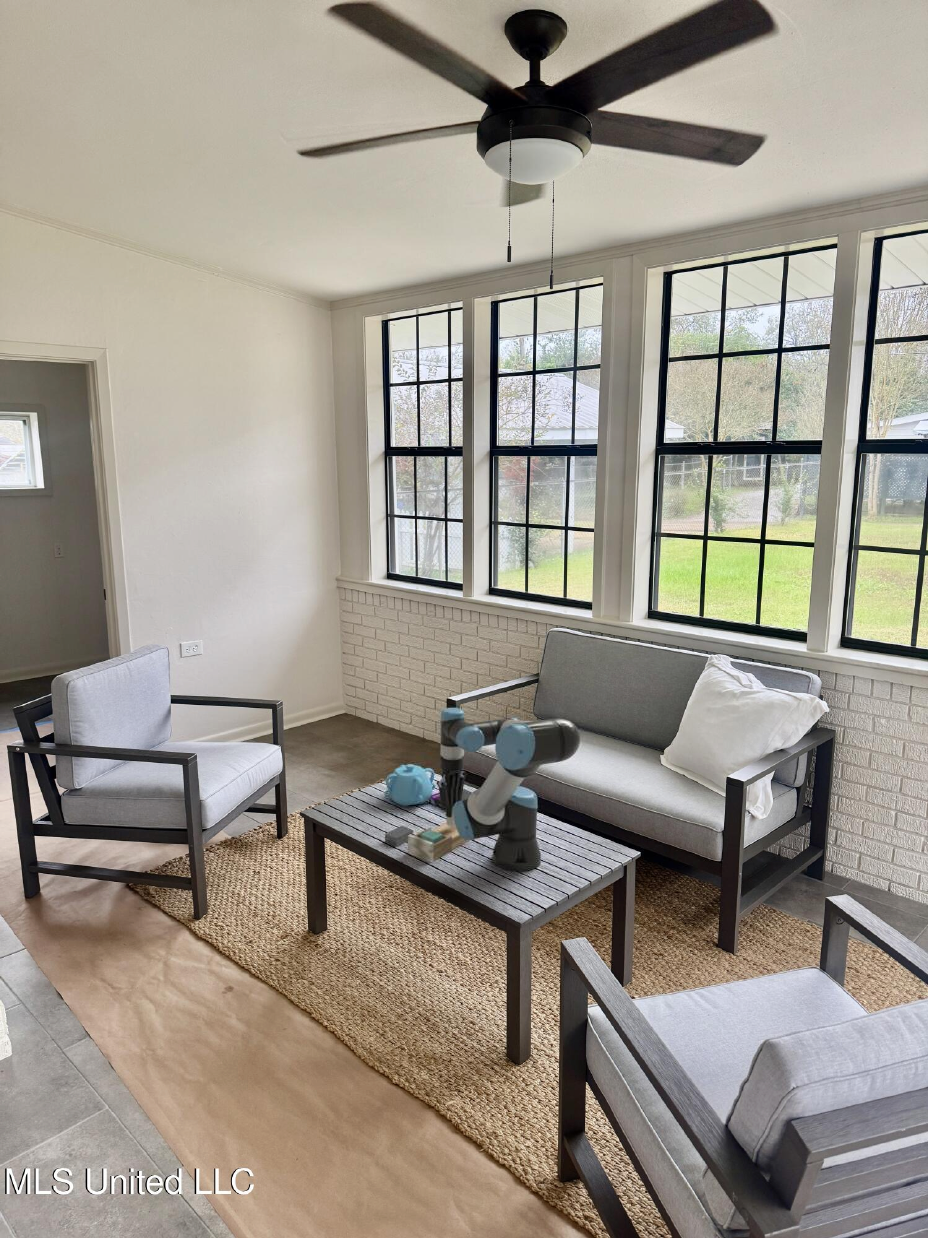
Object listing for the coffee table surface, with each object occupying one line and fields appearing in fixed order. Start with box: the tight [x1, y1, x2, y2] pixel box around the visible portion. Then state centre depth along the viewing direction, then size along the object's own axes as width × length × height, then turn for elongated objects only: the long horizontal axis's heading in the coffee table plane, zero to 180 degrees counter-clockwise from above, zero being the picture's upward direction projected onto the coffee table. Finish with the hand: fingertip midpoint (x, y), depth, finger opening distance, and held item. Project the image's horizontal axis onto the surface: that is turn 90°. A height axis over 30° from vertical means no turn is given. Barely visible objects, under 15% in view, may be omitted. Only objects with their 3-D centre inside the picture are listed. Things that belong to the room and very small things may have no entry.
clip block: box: [420, 829, 443, 844], centre depth 258 cm, size 6×6×4 cm
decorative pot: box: [383, 763, 436, 807], centre depth 296 cm, size 16×16×14 cm
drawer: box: [407, 821, 470, 863], centre depth 260 cm, size 10×20×6 cm, turn 142°
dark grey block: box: [384, 825, 414, 848], centre depth 264 cm, size 5×8×3 cm, turn 142°
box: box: [428, 788, 473, 811], centre depth 293 cm, size 14×4×20 cm
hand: (451, 825), depth 264 cm, fingers closed
